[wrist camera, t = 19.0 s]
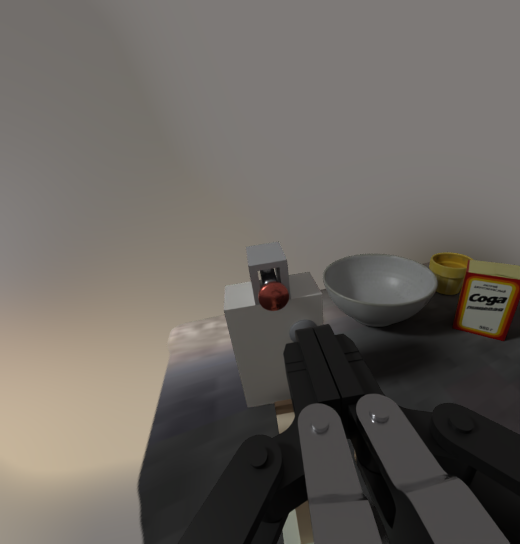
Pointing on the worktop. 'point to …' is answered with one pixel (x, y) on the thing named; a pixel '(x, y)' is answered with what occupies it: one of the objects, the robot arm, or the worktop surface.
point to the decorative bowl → (379, 287)
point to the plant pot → (449, 271)
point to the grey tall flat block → (268, 324)
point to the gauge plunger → (272, 291)
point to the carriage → (298, 526)
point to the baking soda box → (488, 299)
